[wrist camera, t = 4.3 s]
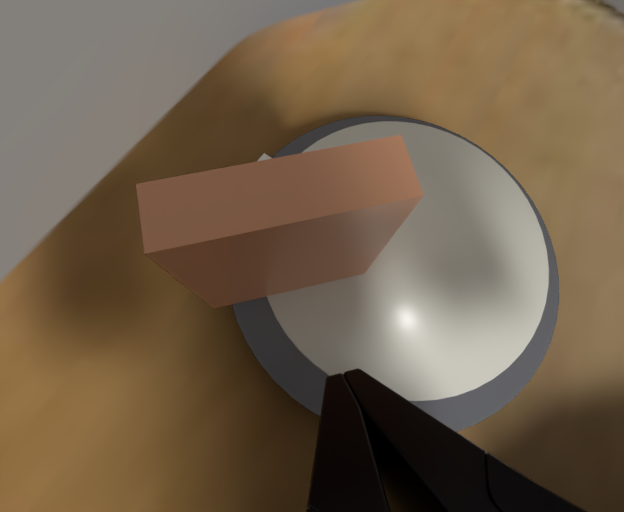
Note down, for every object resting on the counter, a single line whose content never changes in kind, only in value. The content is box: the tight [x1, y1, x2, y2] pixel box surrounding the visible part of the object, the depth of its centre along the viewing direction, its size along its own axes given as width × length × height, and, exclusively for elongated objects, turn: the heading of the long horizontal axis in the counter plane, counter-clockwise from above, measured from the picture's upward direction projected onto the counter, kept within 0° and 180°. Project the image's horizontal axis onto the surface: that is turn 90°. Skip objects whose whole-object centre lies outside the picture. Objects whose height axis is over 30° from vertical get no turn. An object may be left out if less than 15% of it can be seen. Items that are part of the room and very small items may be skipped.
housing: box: [232, 116, 559, 432], centre depth 17 cm, size 15×15×1 cm
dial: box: [136, 121, 549, 401], centre depth 12 cm, size 14×12×8 cm
